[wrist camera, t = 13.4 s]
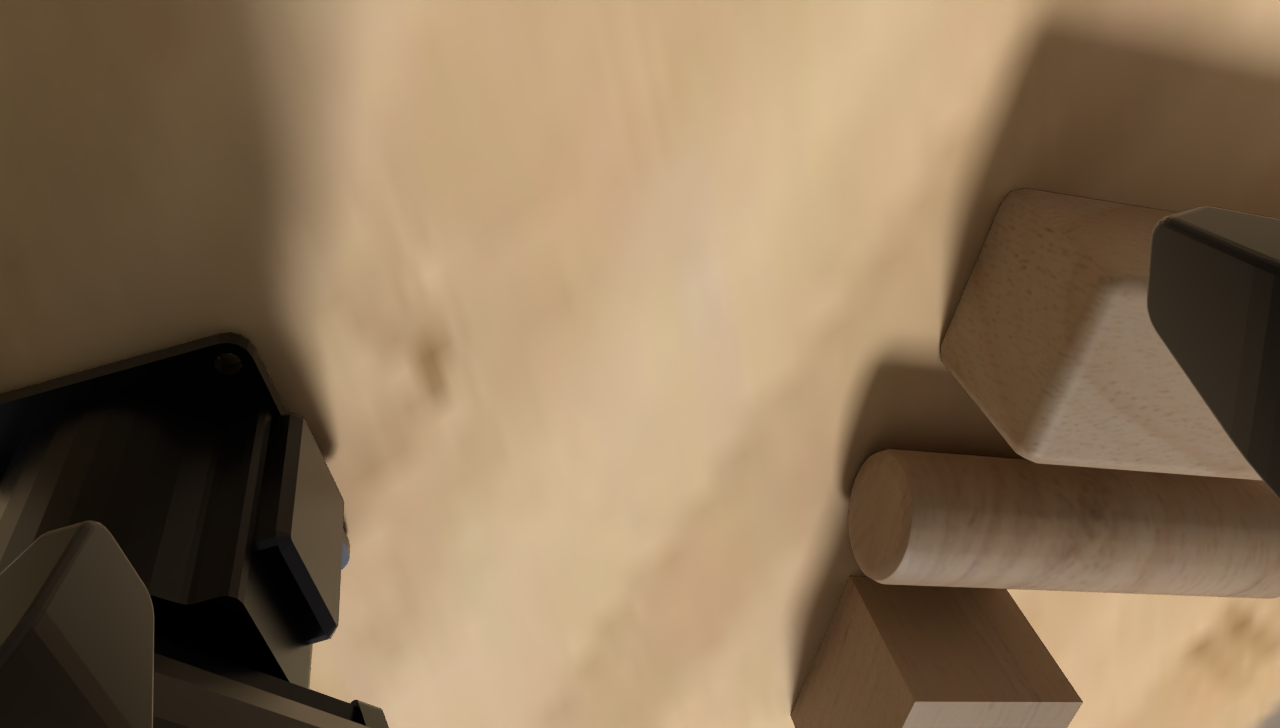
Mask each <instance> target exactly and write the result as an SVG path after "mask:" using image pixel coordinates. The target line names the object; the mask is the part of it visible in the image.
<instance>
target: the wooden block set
mask: <svg viewBox="0 0 1280 728" xmlns="http://www.w3.org/2000/svg"><path fill="white" fill-rule="evenodd" d="M1173 214H1177V212H1171V211H1164V210H1158V209H1152V208H1146V207H1139V206H1133V205H1127V204H1121V203H1114V202H1108V201H1102V200H1096V199H1089V198H1083V197H1077V196H1071V195H1064V194H1058V193H1052V192H1046V191H1039V190H1033V189H1020V190H1016V191H1011V192H1010V193H1009V194H1008V196H1007V197H1006V198H1005V199H1004V200H1003V201H1002V203H1001V204H1000V206H999V209H998V211H997V214H996V216H995V218H994V221H993V223H992V225H991V228H990V230H989V233H988V235H987V237H986V240H985V242H984V244H983V247H982V249H981V252H980V254H979V256H978V259H977V261H976V263H975V266H974V268H973V271H972V273H971V275H970V278H969V280H968V282H967V285H966V287H965V289H964V292H963V294H962V297H961V299H960V301H959V304H958V306H957V308H956V311H955V313H954V316H953V318H952V320H951V323H950V325H949V327H948V330H947V332H946V335H945V337H944V339H943V342H942V344H941V356H940V357H941V361H942V362H943V363H944V365H945V366H946V367H947V368H948V370H949V371H950V372H951V373H952V375H953V376H954V377H955V378H956V380H957V381H958V382H959V383H960V385H961V386H962V387H963V388H964V389H965V391H966V392H967V393H968V394H969V396H970V397H971V398H972V399H973V401H974V402H975V403H976V404H977V406H978V407H979V408H980V409H981V411H982V412H983V413H984V414H985V415H986V417H987V418H988V419H989V420H990V422H991V423H992V424H993V425H994V427H995V428H996V429H997V430H998V432H999V433H1000V434H1001V435H1002V437H1003V438H1004V439H1005V440H1006V441H1007V443H1008V444H1009V445H1010V446H1011V448H1012V449H1013V450H1014V451H1015V453H1017V454H1018V455H1020V456H1022V457H1024V458H1025V459H1014V458H1001V457H988V456H975V455H962V454H949V453H936V452H923V451H910V450H897V449H886V450H882V451H880V452H877V453H875V454H873V455H871V456H870V457H869V458H868V459H867V460H866V461H865V462H864V463H863V465H862V466H861V468H860V469H859V471H858V474H857V476H856V478H855V481H854V484H853V487H852V491H851V496H850V501H849V511H848V528H849V537H850V543H851V548H852V551H853V554H854V557H855V560H856V562H857V564H858V566H859V567H860V569H861V570H862V572H863V573H864V574H865V575H866V576H850V577H849V579H848V582H847V584H846V586H845V589H844V591H843V593H842V596H841V598H840V600H839V603H838V605H837V607H836V610H835V612H834V614H833V617H832V619H831V621H830V624H829V626H828V629H827V631H826V633H825V636H824V638H823V640H822V643H821V645H820V647H819V650H818V652H817V654H816V657H815V659H814V661H813V664H812V666H811V668H810V671H809V673H808V675H807V678H806V680H805V682H804V685H803V687H802V689H801V692H800V694H799V696H798V699H797V701H796V704H795V706H794V708H793V711H792V713H791V718H792V720H793V723H794V725H795V728H1067V727H1068V725H1069V724H1070V722H1071V721H1072V719H1073V717H1074V716H1075V714H1076V713H1077V711H1078V709H1079V708H1080V706H1081V705H1082V703H1083V701H1082V700H1081V698H1080V697H1079V696H1078V694H1077V693H1076V691H1075V690H1074V688H1073V687H1072V685H1071V684H1070V682H1069V681H1068V679H1067V678H1066V676H1065V675H1064V673H1063V672H1062V670H1061V669H1060V668H1059V666H1058V665H1057V663H1056V662H1055V660H1054V659H1053V657H1052V656H1051V654H1050V653H1049V651H1048V650H1047V648H1046V647H1045V645H1044V644H1043V642H1042V641H1041V640H1040V638H1039V637H1038V635H1037V634H1036V632H1035V631H1034V629H1033V628H1032V626H1031V625H1030V623H1029V622H1028V620H1027V619H1026V617H1025V616H1024V614H1023V613H1022V612H1021V610H1020V609H1019V607H1018V606H1017V604H1016V603H1015V601H1014V600H1013V598H1012V597H1011V595H1010V594H1009V592H1008V591H1007V589H1023V590H1050V591H1076V592H1103V593H1130V594H1156V595H1183V596H1210V597H1236V598H1263V599H1271V598H1277V597H1280V500H1279V498H1278V497H1277V496H1276V495H1275V494H1274V493H1273V492H1272V490H1271V489H1270V488H1269V487H1268V486H1267V485H1266V484H1265V482H1264V481H1263V480H1262V479H1261V478H1260V476H1259V475H1258V474H1257V473H1256V471H1255V470H1254V469H1253V468H1252V467H1251V465H1250V464H1249V463H1248V462H1247V461H1246V459H1245V458H1244V457H1243V455H1242V454H1241V453H1240V451H1239V450H1238V449H1237V447H1236V446H1235V445H1234V443H1233V442H1232V441H1231V439H1230V438H1229V436H1228V435H1227V433H1226V432H1225V431H1224V429H1223V428H1222V426H1221V425H1220V423H1219V422H1218V420H1217V419H1216V418H1215V416H1214V415H1213V413H1212V412H1211V410H1210V409H1209V407H1208V406H1207V405H1206V403H1205V402H1204V400H1203V399H1202V397H1201V396H1200V394H1199V393H1198V392H1197V390H1196V389H1195V387H1194V386H1193V384H1192V383H1191V381H1190V380H1189V379H1188V377H1187V376H1186V374H1185V373H1184V371H1183V370H1182V368H1181V367H1180V366H1179V364H1178V363H1177V361H1176V360H1175V358H1174V357H1173V356H1172V354H1171V353H1170V351H1169V350H1168V348H1167V347H1166V345H1165V344H1164V343H1163V341H1162V340H1161V338H1160V337H1159V335H1158V334H1157V332H1156V331H1155V329H1154V327H1153V325H1152V323H1151V321H1150V318H1149V314H1148V310H1147V287H1148V273H1149V259H1150V246H1151V236H1152V231H1153V229H1154V227H1155V225H1156V224H1157V223H1158V222H1159V221H1160V220H1161V219H1162V218H1164V217H1167V216H1170V215H1173ZM1026 459H1027V460H1026Z"/></svg>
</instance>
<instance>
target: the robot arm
mask: <svg viewBox="0 0 1280 728" xmlns="http://www.w3.org/2000/svg"><path fill="white" fill-rule="evenodd" d="M1147 310H1148V314H1149V318H1150V321H1151V323H1152V325H1153V327H1154V329H1155V331H1156V332H1157V334H1158V335H1159V337H1160V338H1161V340H1162V341H1163V343H1164V344H1165V345H1166V347H1167V348H1168V350H1169V351H1170V353H1171V354H1172V356H1173V357H1174V358H1175V360H1176V361H1177V363H1178V364H1179V366H1180V367H1181V368H1182V370H1183V371H1184V373H1185V374H1186V376H1187V377H1188V379H1189V380H1190V381H1191V383H1192V384H1193V386H1194V387H1195V389H1196V390H1197V392H1198V393H1199V394H1200V396H1201V397H1202V399H1203V400H1204V402H1205V403H1206V405H1207V406H1208V407H1209V409H1210V410H1211V412H1212V413H1213V415H1214V416H1215V418H1216V419H1217V420H1218V422H1219V423H1220V425H1221V426H1222V428H1223V429H1224V431H1225V432H1226V433H1227V435H1228V436H1229V438H1230V439H1231V441H1232V442H1233V443H1234V445H1235V446H1236V447H1237V449H1238V450H1239V451H1240V453H1241V454H1242V455H1243V457H1244V458H1245V459H1246V461H1247V462H1248V463H1249V464H1250V465H1251V467H1252V468H1253V469H1254V470H1255V471H1256V473H1257V474H1258V475H1259V476H1260V478H1261V479H1262V480H1263V481H1264V482H1265V484H1266V485H1267V486H1268V487H1269V488H1270V489H1271V490H1272V492H1273V493H1274V494H1275V495H1276V496H1277V497H1278V498H1279V500H1280V219H1277V218H1272V217H1266V216H1261V215H1255V214H1250V213H1244V212H1239V211H1234V210H1228V209H1223V208H1217V207H1211V206H1204V207H1198V208H1194V209H1191V210H1187V211H1184V212H1180V213H1177V214H1173V215H1170V216H1167V217H1164V218H1162V219H1161V220H1160V221H1159V222H1158V223H1157V224H1156V225H1155V227H1154V229H1153V231H1152V236H1151V246H1150V259H1149V273H1148V287H1147ZM225 353H231V354H233V355H236V356H237V357H238V358H239V359H240V360H241V361H240V362H238V363H237V364H227V363H224V362H222V361H221V360H220V359H219V358H218V356H220V355H221V354H225ZM343 517H344V500H343V498H342V496H341V494H340V492H339V489H338V487H337V485H336V483H335V481H334V479H333V477H332V475H331V473H330V471H329V468H328V466H327V464H326V462H325V460H324V458H323V456H322V454H321V452H320V450H319V448H318V445H317V443H316V441H315V439H314V437H313V435H312V433H311V431H310V429H309V427H308V425H307V422H306V420H305V419H304V418H302V417H300V416H299V415H297V414H295V413H293V412H289V413H287V412H286V410H285V408H284V406H283V404H282V402H281V400H280V398H279V396H278V394H277V392H276V390H275V388H274V386H273V384H272V382H271V380H270V378H269V375H268V373H267V371H266V369H265V367H264V365H263V363H262V361H261V359H260V357H259V355H258V353H257V351H256V349H255V347H254V346H253V344H252V343H251V342H250V340H248V339H247V338H245V337H243V336H242V335H239V334H235V333H221V334H217V335H213V336H210V337H206V338H203V339H199V340H195V341H192V342H188V343H184V344H181V345H177V346H174V347H170V348H166V349H163V350H159V351H156V352H152V353H148V354H145V355H141V356H137V357H134V358H130V359H127V360H123V361H119V362H116V363H112V364H108V365H105V366H101V367H98V368H94V369H90V370H87V371H83V372H80V373H76V374H72V375H69V376H65V377H61V378H58V379H54V380H51V381H47V382H43V383H40V384H36V385H33V386H29V387H25V388H22V389H18V390H14V391H11V392H7V393H4V394H0V728H389V727H388V724H387V721H386V719H385V716H384V713H383V710H382V709H381V708H378V707H375V706H373V705H370V704H367V703H364V702H361V701H359V700H354V701H352V702H351V703H347V702H344V701H341V700H338V699H335V698H333V697H330V696H327V695H324V694H321V693H319V692H316V691H313V690H310V689H309V685H310V672H311V658H312V645H313V644H314V643H317V642H320V641H324V640H327V639H331V637H332V635H333V634H334V632H335V630H336V628H337V626H338V621H339V600H340V579H341V570H342V569H343V568H344V567H345V566H346V565H347V563H348V561H349V556H350V544H349V540H348V537H347V535H346V533H345V531H344V529H343Z"/></svg>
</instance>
